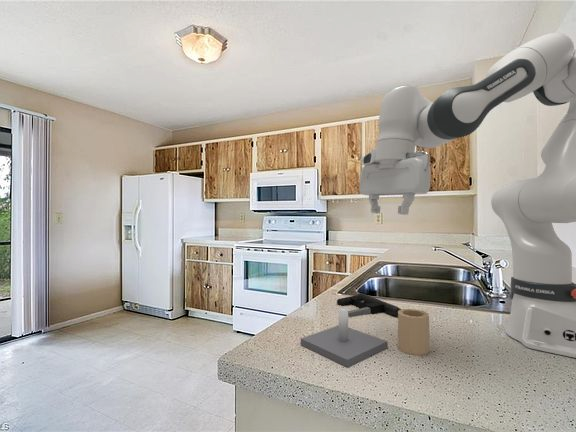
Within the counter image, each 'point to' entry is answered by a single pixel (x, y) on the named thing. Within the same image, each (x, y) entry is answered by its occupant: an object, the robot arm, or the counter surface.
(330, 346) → the roll holder
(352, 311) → the black two-tone tubular device
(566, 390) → the counter surface
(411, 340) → the paper roll
